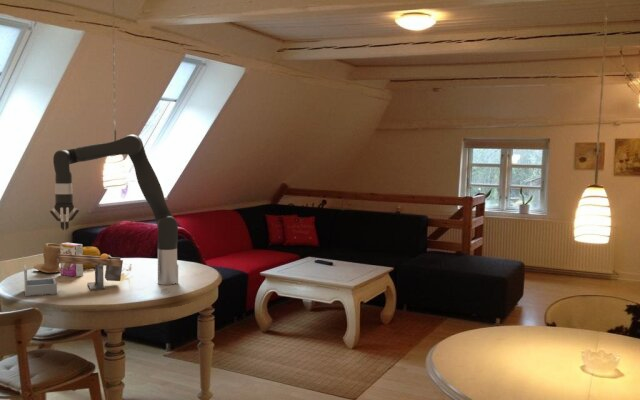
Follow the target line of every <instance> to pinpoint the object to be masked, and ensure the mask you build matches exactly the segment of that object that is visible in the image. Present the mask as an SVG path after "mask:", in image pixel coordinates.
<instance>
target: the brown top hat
mask: <svg viewBox="0 0 640 400" xmlns="http://www.w3.org/2000/svg"><path fill="white" fill-rule="evenodd" d="M58 254H60V244H58V243H52V242H51V243H50V242H47V243H45V245H43V262H44V263H39V264H36V265H34V266H33V267H32V268H33V269H34V270H36V271H39V272H43V273H48V274H53V273H61V266H60V263H58V261H57V257H58Z"/></svg>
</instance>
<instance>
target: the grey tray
mask: <svg viewBox="0 0 640 400" xmlns="http://www.w3.org/2000/svg"><path fill="white" fill-rule="evenodd" d="M23 279H24V280H23V283H24V285H23V287H24V288H23V290H25V291H24V295H25V296H28V297H32V296H31V295H39V296H43V295H42V294H50V295H58V294H57V293H58V286H57V285H58V283H57V282H56V279H55V277H51V278H39V279H28V269H27V264H23Z"/></svg>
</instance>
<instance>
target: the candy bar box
mask: <svg viewBox="0 0 640 400" xmlns="http://www.w3.org/2000/svg"><path fill="white" fill-rule="evenodd" d="M59 245H60V254H69V255H83V247H84V246H83V244H82V243H73V242H62V243H60V244H59ZM60 268H61V271H60V275H62V276H67V277H71V278H73V277H74V278H79V277H82V276H84V268H83V264H68V263H60Z"/></svg>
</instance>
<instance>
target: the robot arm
mask: <svg viewBox="0 0 640 400" xmlns="http://www.w3.org/2000/svg"><path fill="white" fill-rule="evenodd" d="M119 155H120V156H121V155H122V156H123V155H128V157H129V159H130V160H131V162H132V165H133V168H134V171H135V176H136V180H137V183H138V186H139V188H140V192H141V193H142V195H143V197H144V199H145V200H146V202H147V204H148V205H149V207H150V209H151V211H152V212H153V216H154V218H155V222H156V226H157V284H158V285H161V286H163V285H164V286H168V285H169V286H170V285H175V283H176V284H179V263H178V241H179V240H178V239H179V233H178V231H179V228H178V227H179V226H178V222H177V220H176V219H175V217H174V216H173V215H172V213H171V211H170V209H169V208H168V206H167V203H166V199H165V195H164V191H163V189H162V185H161V184H160V182H159V181H160V180H159V179H158V176H157V174H156V172H155V170H154V169H153V166H152V165H151V162H150V161H149V159H148V156H147V154H146V150H145V146H144V144H143V141H142V139H141V138H140V136H138V135H136V134H128V135H125V136H124V137H121V138H119V139H117V140H114V141H110V142H109V141H108V142H103V143H95V144H87V145H83V146H82V145H81V146H78V147H76V148H70V149H62V150H61V149H60V150H57V151H56V152H54V154H53V158H52V159H53V168H54V173H55V177H54V178H55V185H54V192H55V193H54V199H55V200H54V201H55V202H54V204H55V205H54V207H53V208H52V209H49V212H50V214H51V215H52V217H53V218H54V219H55V220H56V222H60V223H59V224H60V229H61V230H63V231H64V230H65V231H67V230H68V229H69V225H70V224H69V222H71V221H73V219H74V218H75V217H76V216H77V214H78V213H79V212H80V211H79V209H78V208H76V207H75V205H74V199H73V197H74V195H73V192H74V191H73V176H72V172H71V169H70V165H73V164H77V163H80V162H81V163H82V162H88V161H94V160H98V159H102V158H106V157H110V156H119ZM56 212H57V213H58V214H59V217H58V216H57V214H56ZM71 212H72V214H71ZM70 214H71V215H70ZM64 215H65V221H64Z"/></svg>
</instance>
